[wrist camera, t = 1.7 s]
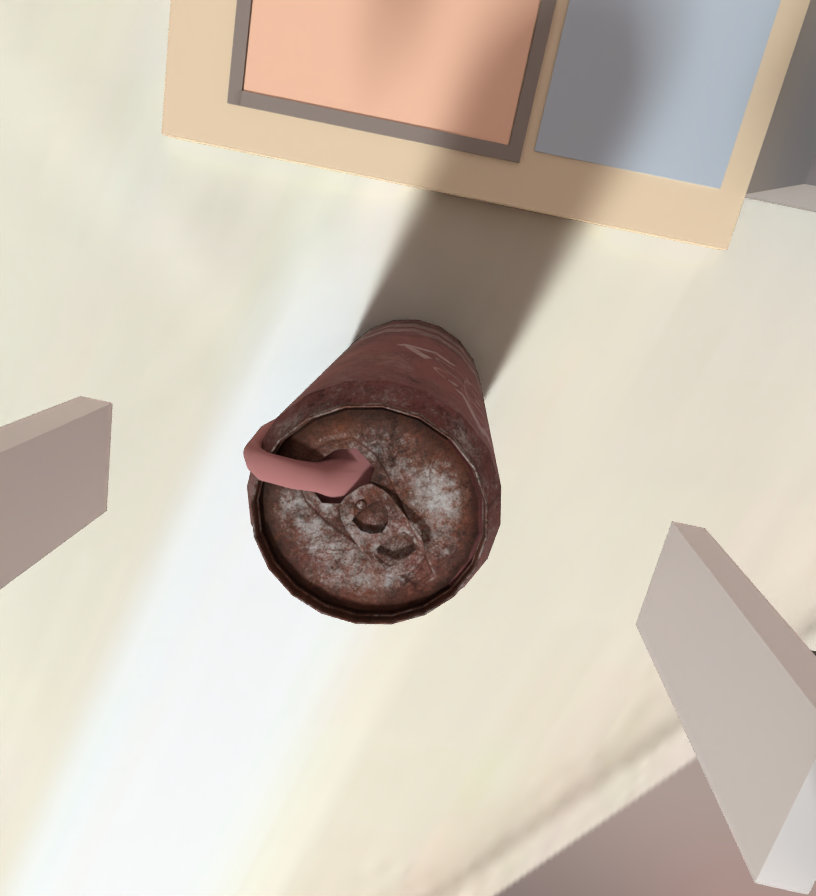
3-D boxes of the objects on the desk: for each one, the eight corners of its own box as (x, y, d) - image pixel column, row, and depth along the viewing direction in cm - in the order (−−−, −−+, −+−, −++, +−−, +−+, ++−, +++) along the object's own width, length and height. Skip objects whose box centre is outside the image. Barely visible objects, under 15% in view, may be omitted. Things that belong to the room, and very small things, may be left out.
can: (354, 297, 27) (256, 348, 13) (499, 344, 27) (545, 440, 14) (316, 430, 29) (198, 591, 15) (452, 473, 29) (453, 670, 15)
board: (170, 137, 25) (159, 133, 24) (198, -248, 22) (187, -270, 21) (719, 249, 25) (728, 249, 24) (840, -119, 22) (857, -135, 21)
